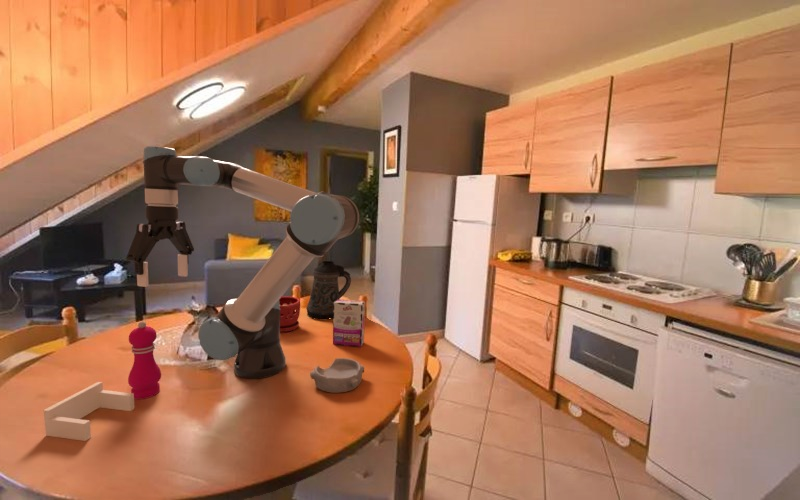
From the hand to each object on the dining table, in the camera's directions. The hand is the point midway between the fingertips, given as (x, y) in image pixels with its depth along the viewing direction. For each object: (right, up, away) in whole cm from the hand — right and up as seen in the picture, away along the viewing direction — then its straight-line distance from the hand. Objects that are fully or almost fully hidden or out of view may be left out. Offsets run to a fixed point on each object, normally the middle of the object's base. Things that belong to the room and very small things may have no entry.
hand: (164, 280), depth 101 cm
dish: (+49, -31, +6) cm, 58 cm away
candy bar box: (+47, -27, +35) cm, 64 cm away
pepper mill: (-2, -30, -5) cm, 30 cm away
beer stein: (+32, -22, +68) cm, 79 cm away
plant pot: (+18, -24, +47) cm, 56 cm away
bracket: (-5, -31, -17) cm, 36 cm away
